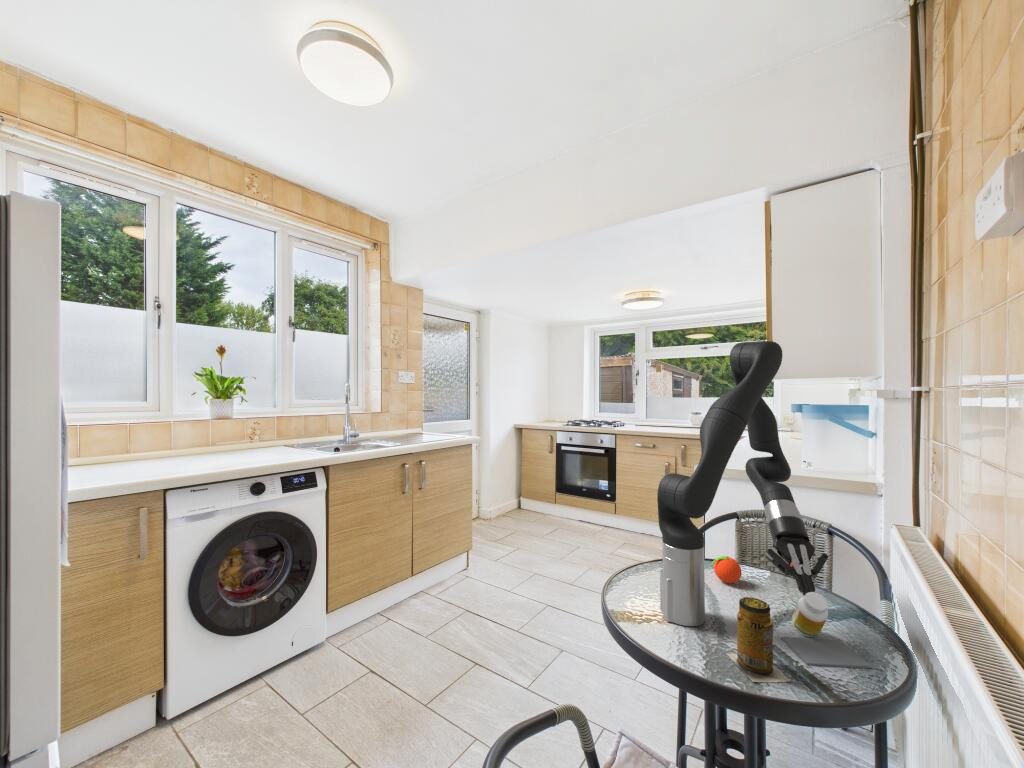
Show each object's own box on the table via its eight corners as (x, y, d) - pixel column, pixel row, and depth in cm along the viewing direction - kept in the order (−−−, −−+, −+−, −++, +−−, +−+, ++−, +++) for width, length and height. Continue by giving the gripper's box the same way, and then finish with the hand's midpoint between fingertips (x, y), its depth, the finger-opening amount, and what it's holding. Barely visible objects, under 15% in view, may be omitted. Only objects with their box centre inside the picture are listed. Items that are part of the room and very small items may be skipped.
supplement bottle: (824, 639, 90) (837, 614, 85) (796, 636, 91) (807, 612, 86) (814, 614, 95) (825, 589, 89) (787, 611, 96) (797, 587, 91)
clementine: (716, 587, 114) (716, 561, 115) (706, 576, 121) (705, 551, 122) (746, 588, 114) (746, 561, 114) (734, 577, 121) (733, 552, 121)
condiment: (761, 653, 85) (760, 594, 85) (791, 682, 77) (790, 615, 77) (726, 654, 85) (725, 594, 85) (752, 683, 76) (751, 616, 77)
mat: (806, 665, 81) (806, 663, 81) (780, 638, 90) (780, 636, 90) (872, 668, 80) (872, 666, 80) (839, 641, 89) (839, 639, 89)
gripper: (758, 512, 103) (778, 583, 90) (820, 516, 100) (850, 590, 87) (752, 529, 108) (770, 598, 95) (811, 533, 105) (838, 605, 92)
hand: (808, 594), depth 91 cm, fingers closed
